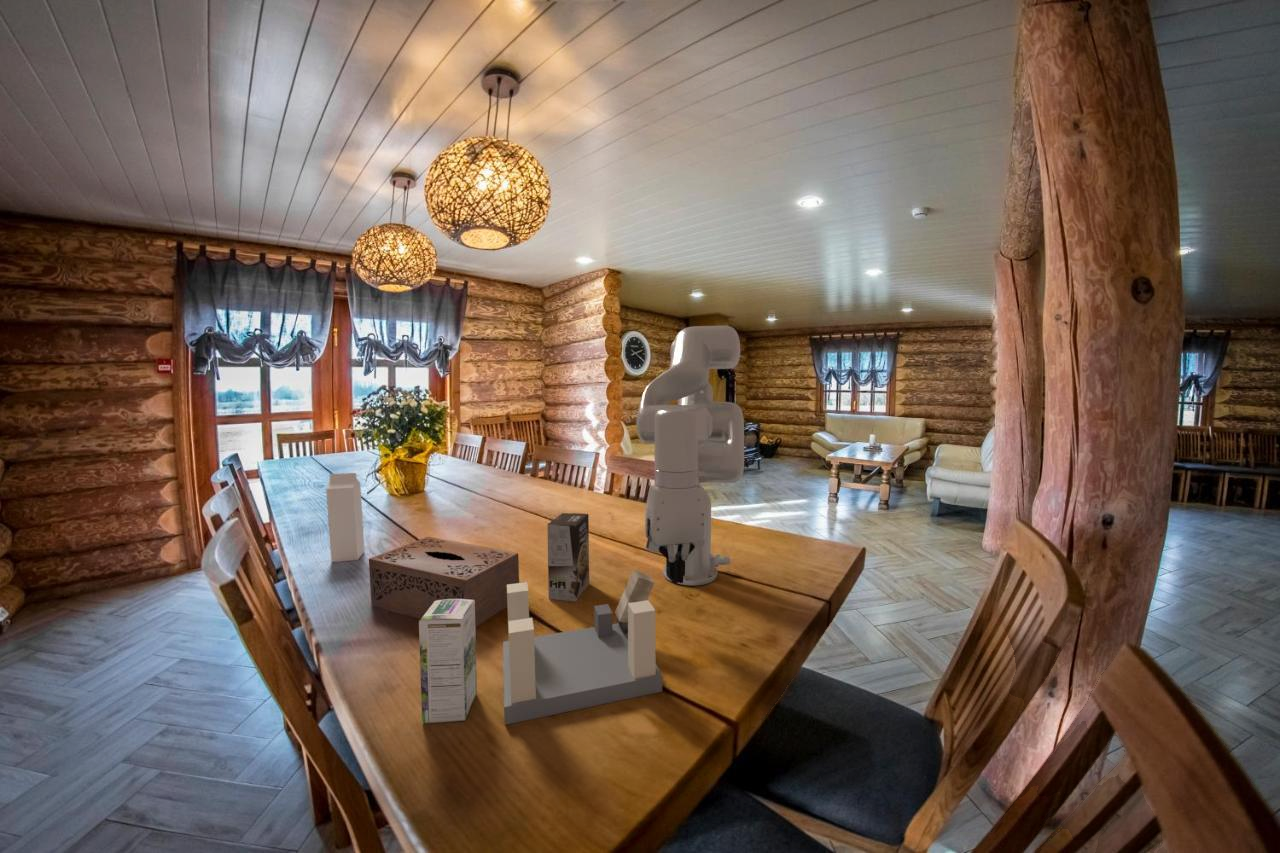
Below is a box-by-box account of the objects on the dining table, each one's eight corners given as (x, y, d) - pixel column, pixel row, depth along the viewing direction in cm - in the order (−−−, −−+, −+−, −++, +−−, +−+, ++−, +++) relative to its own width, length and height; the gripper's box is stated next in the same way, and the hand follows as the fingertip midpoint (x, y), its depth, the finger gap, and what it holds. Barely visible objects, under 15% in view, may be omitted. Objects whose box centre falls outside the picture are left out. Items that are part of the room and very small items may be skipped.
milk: (357, 560, 117) (352, 475, 115) (330, 562, 116) (324, 476, 114) (365, 551, 123) (360, 470, 121) (339, 554, 122) (333, 471, 119)
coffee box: (577, 602, 94) (575, 525, 93) (547, 599, 96) (545, 523, 94) (590, 583, 103) (589, 513, 102) (563, 581, 105) (562, 511, 103)
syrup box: (436, 695, 66) (432, 599, 65) (478, 693, 67) (475, 597, 66) (421, 724, 61) (416, 619, 59) (467, 721, 61) (463, 617, 60)
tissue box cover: (371, 606, 94) (368, 558, 93) (429, 578, 107) (427, 536, 106) (468, 633, 83) (466, 580, 82) (519, 599, 96) (518, 553, 95)
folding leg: (627, 624, 82) (648, 574, 82) (632, 635, 78) (655, 583, 78) (611, 619, 81) (632, 569, 81) (616, 630, 77) (638, 577, 78)
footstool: (631, 634, 82) (631, 567, 81) (662, 691, 67) (662, 610, 66) (503, 656, 76) (500, 584, 75) (504, 724, 61) (501, 636, 59)
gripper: (705, 472, 86) (704, 567, 88) (628, 477, 82) (629, 577, 83) (724, 480, 79) (723, 583, 81) (641, 486, 75) (642, 595, 76)
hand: (675, 580), depth 82 cm, fingers closed
